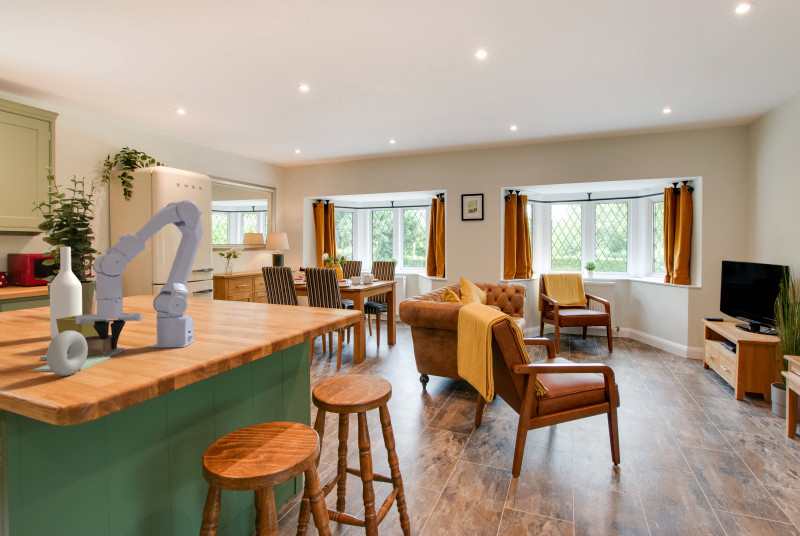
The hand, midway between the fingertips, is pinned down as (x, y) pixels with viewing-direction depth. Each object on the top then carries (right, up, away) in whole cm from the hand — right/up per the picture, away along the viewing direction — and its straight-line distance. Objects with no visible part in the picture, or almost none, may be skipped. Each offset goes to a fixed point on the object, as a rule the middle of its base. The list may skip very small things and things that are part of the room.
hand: (110, 348), depth 109 cm
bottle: (-31, -1, +23) cm, 38 cm away
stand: (-7, -2, -1) cm, 7 cm away
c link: (-3, -1, -1) cm, 4 cm away
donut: (+4, -2, -19) cm, 20 cm away
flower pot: (-16, -2, +10) cm, 19 cm away
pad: (-1, -2, -11) cm, 11 cm away
